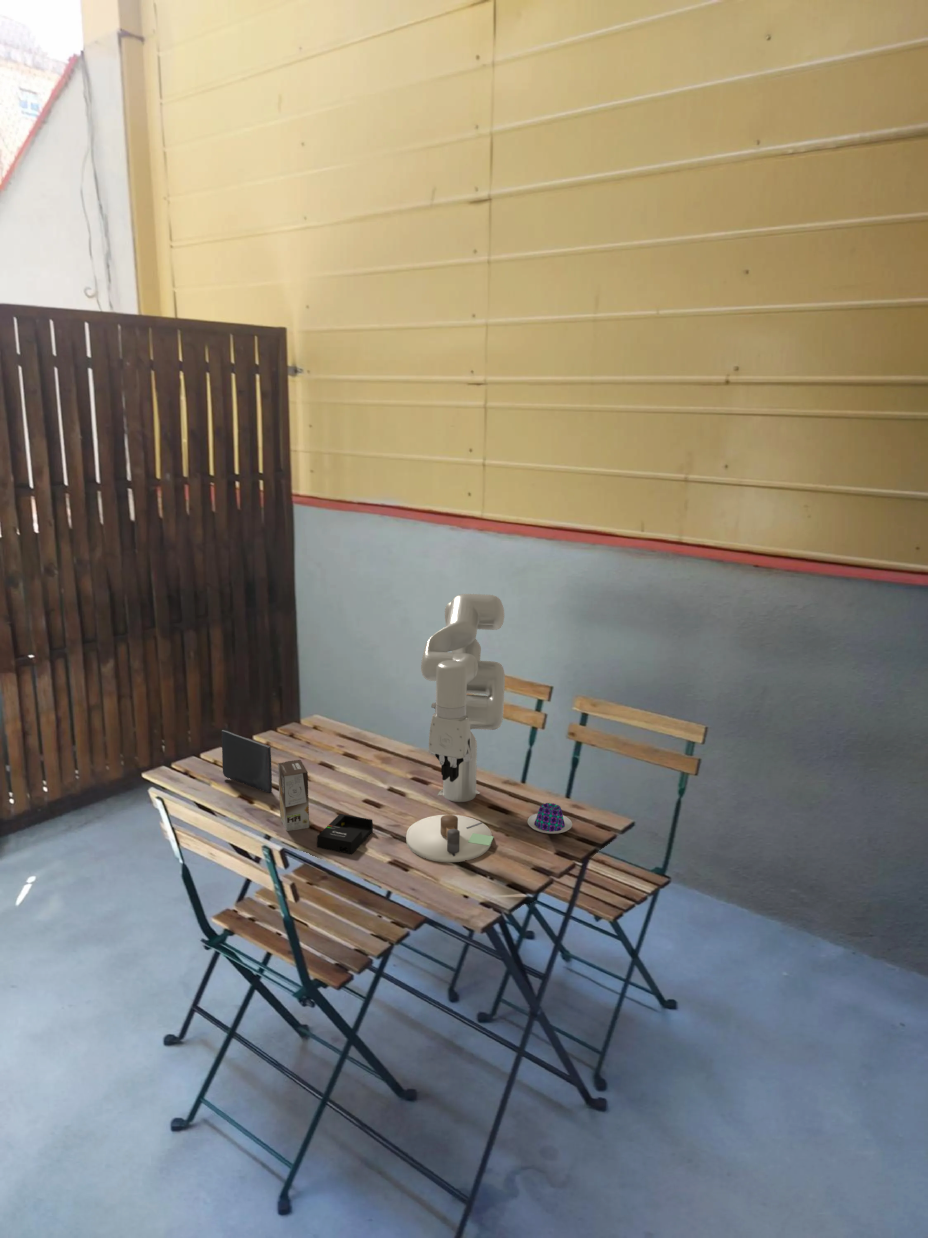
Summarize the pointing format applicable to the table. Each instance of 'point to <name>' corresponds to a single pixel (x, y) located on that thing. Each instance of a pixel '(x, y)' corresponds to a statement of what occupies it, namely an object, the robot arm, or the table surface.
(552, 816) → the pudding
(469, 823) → the dial plate
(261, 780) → the dark grey flat panel
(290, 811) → the coffee box
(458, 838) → the peg lever
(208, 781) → the table surface
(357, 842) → the battery charger
